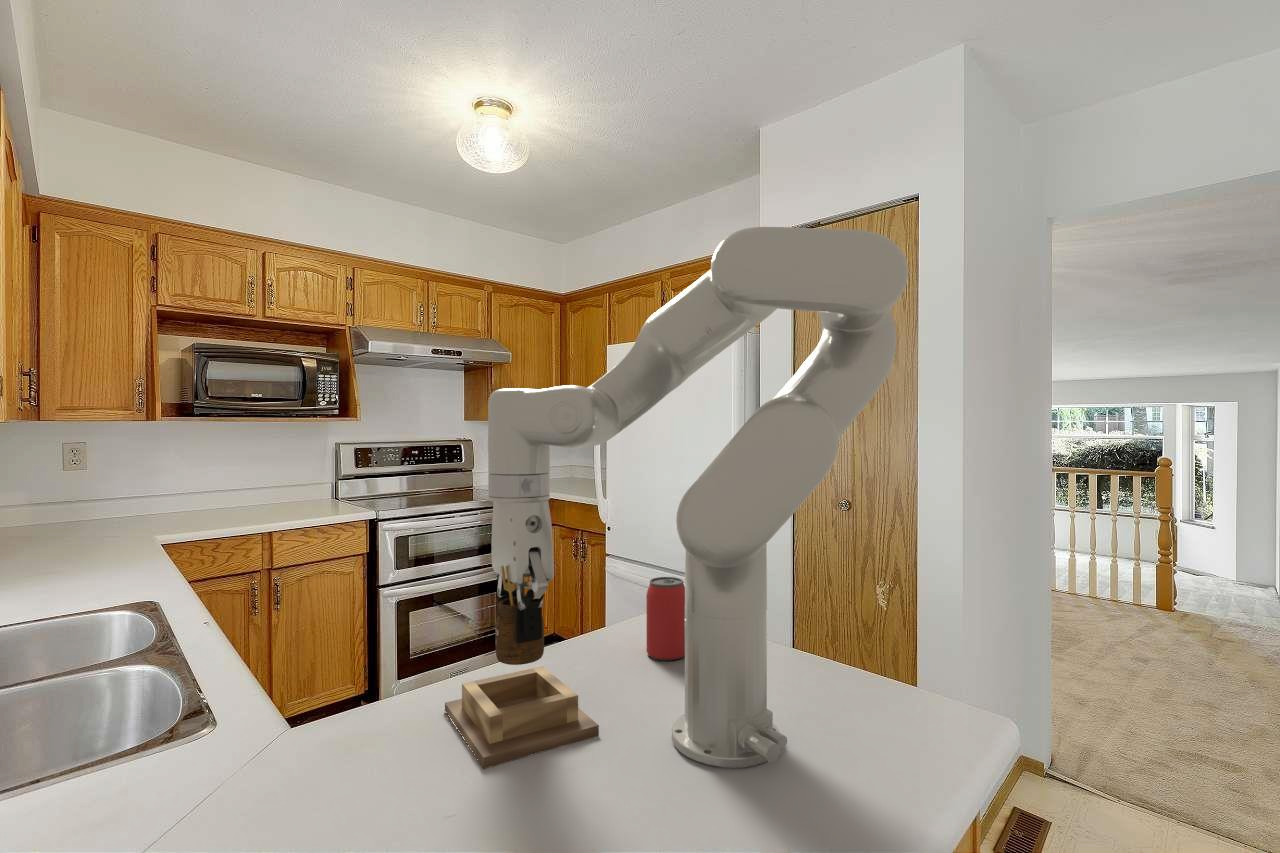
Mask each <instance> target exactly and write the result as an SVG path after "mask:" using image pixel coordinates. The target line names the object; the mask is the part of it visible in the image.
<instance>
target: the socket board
mask: <svg viewBox="0 0 1280 853" xmlns="http://www.w3.org/2000/svg"><path fill="white" fill-rule="evenodd" d="M445 711H446V712H447V714H448V715H449V716H450V718H451V719H452V721H453V722H454V724H455V725H456V727H457V728H458V730H459V731H460V733H461V734H462V736H463V737H464V739H465V741H466V742H467V744H468V745H469V747H470V748H471V750H472V751H473V753H474V754H475V756H476V757H475V756H474V757H475V758H476V760H477V759H478V760H477V762H478V763H479V762H480V763H479V765H480V766H481V768H484V769H487V768H490V766H491V767H493V766H497V765H500V763H501V764H505V763H509V762H512V761H514V760H518V759H521V758H525V756H526V757H529V756H532V754H533V755H536V754H539V753H543V752H546V751H549V749H550V750H553V749H556V748H559V747H564V746H567V745H570V744H573V743H576V742H580V741H584V740H587V739H590V738H594V737H598V736H599V735H600V733H599V732H600V730H599V729H600V725H599V724H598V723H597V722H596V721H594V719H592V718H591V717H590V716H589V715H588V714H586V713H585V712H584V711H583V710H582V709H580V708H579V694H577V693H576V692H575V691H574V690H572V688H570V687H569V686H568V685H566V683H564V682H562V680H560V679H559V678H558V677H556V676H555V675H554V674H553V673H551V672H550V671H549V670H548V669H547V668H546V667H544V666H538V667H533V668H529V669H523V670H519V671H514V672H510V673H504V674H500V675H497V676H491V677H486V678H485V677H484V678H481V679H478V680H472V681H471V680H470V681H468V682H467V681H466V682H462V683H461V698H459V699H455V700H454V699H453V700H451V701H447V702H446V701H445V702H444V712H445ZM447 714H446V715H447ZM458 730H457V731H458ZM460 733H459V734H460ZM462 736H461V737H462ZM464 739H463V740H464ZM465 741H464V742H465ZM466 742H465V743H466ZM467 744H466V745H467ZM468 745H467V746H468ZM469 747H468V748H469ZM470 748H469V749H470ZM471 750H470V751H471ZM545 750H546V751H545ZM472 751H471V752H472ZM542 751H543V752H542ZM473 753H472V754H473ZM535 753H536V754H535ZM474 754H473V755H474ZM528 755H529V756H528ZM511 760H512V761H511Z"/></svg>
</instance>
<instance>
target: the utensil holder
mask: <svg viewBox="0 0 1280 853" xmlns="http://www.w3.org/2000/svg"><path fill="white" fill-rule="evenodd" d="M501 570H502V578H503V586H504V589H505V590H506V591H508V592H509V596H510V598H507V599H504V600H501V601H500V602H499V606H498V605H497V613H498V612H499V613H500V615H499V616H498V615H497V619H496V621H495V654H496V655H495V656H496V659H497V661H498V662H500V663H502V664H505V665H509V666H510V665H511V666H520V665H527V664H532V663H535V662H537V661H539V660H540V659H542V657H543V656H544V653H545V652H544V651H545V627H544V625H545V624H544V617H543V616H542V637H541V639H539V640H535V641H529V642H524V643H517V642H516V641H515V609H519V608H518V600H517V597H513V595H512V591H514V590H515V589H516V584H514V583H511V581H509V574H508V566H506V573H507V581H508V583H507V582H506V578H505V572H504V566H501ZM529 581H532V578H529ZM523 582H525V580H524V581H523ZM530 589H531V588H528V590H530Z"/></svg>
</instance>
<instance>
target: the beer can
mask: <svg viewBox="0 0 1280 853" xmlns="http://www.w3.org/2000/svg"><path fill="white" fill-rule="evenodd" d="M645 597H646V653H647V654H648V656H649V657H651V658H652V659H654V660H658V661H665V662H666V661H676V660H677V661H678V660H680V659H682V658H685V580H683V579H682V578H679V577H676V576H675V577H674V576H659V577H654V578H651V579H649V584H648V587H647V591H646V596H645Z"/></svg>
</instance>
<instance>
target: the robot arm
mask: <svg viewBox="0 0 1280 853" xmlns="http://www.w3.org/2000/svg"><path fill="white" fill-rule="evenodd" d="M908 279H909V265H908V260H907V258H906V256H905V253H904V252H903V250H902V249H901V247H900V246H898V244H897V243H896V242H895V241H893V240H892V239H891V238H889V237H887V236H885V235H883V234H881V233H877V232H873V231H869V230H860V229H845V228H843V229H842V228H811V227H810V228H809V227H792V226H791V227H790V226H754V227H748V228H743V229H739V230H737V231H734V232H732V233H731V234H729V235H727V236H726V237H725V238H724V239H723V240H722V241H721V242H720V243H719V244H718V245H717V247H716V248H715V250H714V253H713V255H712V258H711V262H710V269H709V270H708V271H706V273H704V274H703V275H702V276H701V277H699V278H698V279H697V280H695V281H694V282H693V283H691V285H689V286H688V287H687V288H685V289H683V291H681V292H680V293H679V294H677V295H676V296H675V297H673V298H672V299H671V300H669V301H668V302H667V303H666V304H665V305H663V306H662V307H660V308H659V309H658V310H657V311H656V312H653V314H651V315H650V316H649V317H648V318H647V319H646V321H645V322H644V324H643V325H642V327H641V328H640V331H639V333H638V336H637V337H636V340H635V342H634V344H633V345H632V347H631V349H630V350H629V352H627V353H626V355H625V356H624V357H623V358H622V359H621V360H620V361H619V362H618V363H617V364H616V365H615V366H614V367H612V368H611V369H610V370H609V371H608V372H606V373H605V374H604V375H603V376H602V377H600V378H599V379H597V380H596V381H595V382H593V383H592V384H591V385H589V386H588V387H586V386H581V385H577V384H576V385H574V384H569V385H567V384H566V385H559V386H553V387H549V388H541V389H540V388H539V389H536V388H519V387H517V388H516V387H515V388H514V387H513V388H512V387H510V388H499V389H496V390H494V391H492V392H491V394H490V396H489V397H488V405H487V407H488V408H487V412H488V413H487V415H488V416H487V418H488V419H487V425H488V426H487V434H488V436H487V439H488V440H487V451H488V452H487V453H488V454H487V457H488V458H487V462H488V463H487V466H488V468H487V470H488V473H487V475H488V476H487V480H488V481H487V482H488V484H487V489H488V490H487V491H488V492H487V496H488V497H487V501H488V502H491V503H492V502H493V506H492V507H493V508H492V520H491V541H490V542H491V545H490V546H491V566H492V570H493V571H494V573H496V574H497V575H496V576H497V577H496V580H497V590H496V592H497V596H498V597H497V607H498V606H499V602H500V601H501V600H504V599H507V598H510V596H509V592H508V591H506V590H505V589H504V586H503V578H502V570H501V566H504V572H505V578H506V582H507V583H508V581H507V573H506V566H508V574H509V581H511V583H514V584H516V589H515V590H514V591H512V595H513V597H517V600H518V608H519V609H515V641H516V642H517V643H524V642H529V641H535V640H539V639H541V637H542V617H543V606H544V596H545V592H546V591H547V590H548V585H549V584H548V582H550V581H552V580H553V578H554V576H555V562H554V561H555V559H554V541H553V528H552V527H553V526H552V517H551V510H550V504H549V500H550V496H551V495H550V494H551V491H550V488H551V486H550V485H551V484H550V483H551V482H550V478H551V477H550V476H551V475H550V470H551V468H550V465H551V464H550V463H551V462H550V458H551V457H550V453H551V452H550V449H551V448H550V446H554V447H559V448H568V449H579V448H587V447H594V446H600V445H602V444H604V443H606V442H608V441H609V440H611V439H612V438H614V437H616V436H617V435H618V434H619V433H621V432H622V431H623V430H624V429H626V428H627V427H629V426H631V425H632V424H633V423H634V422H635V421H637V420H638V419H639V418H641V417H642V416H643V415H644V414H646V413H647V412H648V411H649V410H651V409H652V408H653V407H655V406H656V405H657V404H658V403H660V402H661V401H662V400H663V399H664V398H665V397H667V395H669V394H670V393H671V392H673V391H674V390H676V389H677V388H678V387H680V386H681V385H682V384H683V383H684V382H685V381H686V380H688V378H690V376H692V375H693V374H694V373H696V372H697V371H698V370H699V369H701V368H702V367H704V366H705V365H706V364H707V363H709V362H710V361H712V360H713V359H714V358H715V357H716V356H718V355H719V354H720V353H722V352H723V351H725V350H726V349H727V348H728V347H730V346H731V345H733V344H734V343H735V342H737V341H738V340H739V339H740V338H742V337H744V336H745V335H747V334H748V332H750V331H751V330H753V329H754V328H756V326H758V325H759V324H760V323H762V322H763V321H764V320H766V319H767V318H768V317H770V316H771V315H772V314H773V313H774V312H776V310H777V309H778V310H779V309H780V310H789V311H791V310H792V311H801V312H803V311H804V312H815V313H817V314H818V317H819V319H820V323H821V328H822V330H821V335H820V340H819V342H818V344H817V345H816V347H815V348H814V350H813V351H812V352H811V353H810V354H809V355H808V356H807V358H806V359H805V361H803V363H802V364H801V365H800V366H799V368H798V369H797V371H796V372H795V373H794V374H793V375H792V376H791V377H790V379H789V380H788V381H787V382H786V384H785V385H784V386H783V387H782V388H781V389H780V391H778V392H777V394H776V395H775V396H773V397H772V399H770V400H768V401H767V402H765V403H763V404H762V405H761V406H759V407H758V408H757V409H756V410H755V411H754V412H753V414H752V415H750V417H749V418H748V419H747V421H746V422H745V423H744V424H743V425H742V426H741V427H740V429H739V430H738V431H737V432H736V433H735V434H734V435H733V437H732V438H731V439H730V440H729V441H728V443H727V444H726V445H725V446H724V447H723V449H722V450H721V451H720V452H719V453H718V455H716V457H715V458H714V459H713V460H712V461H711V462H710V464H709V465H708V466H707V467H706V469H704V471H703V472H702V473H701V474H700V476H699V477H698V478H697V479H696V480H695V481H694V482H693V483H692V485H691V486H690V487H689V488H688V489H687V490H686V492H685V493H684V495H683V496H682V498H681V499H680V502H679V504H678V508H677V512H676V518H675V519H676V531H677V534H678V537H679V541H680V542H681V545H682V546H683V548H684V549H685V559H684V560H685V562H684V566H685V567H684V586H685V656H684V713H683V714H682V715H680V716H679V717H678V718H677V719H676V720H675V721H674V722H673V724H672V727H671V740H672V744H673V745H674V746H675V749H677V750H678V751H679V752H680V753H681V754H683V755H684V756H686V757H687V758H689V759H692V760H693V761H695V762H699V763H701V764H705V765H707V766H714V767H719V768H720V767H721V768H731V769H732V768H745V767H746V768H747V767H752V766H757V765H760V764H763V763H766V762H769V763H770V764H772V763H775V762H776V761H777V760H778V759H779V756H780V754H781V750H782V749H785V747H787V744H788V737H787V736H786V735H784V734H783V733H781V732H780V730H779V728H778V727H777V726H776V725H775V724H774V722H773V719H774V718H773V714H774V713H773V711H771V710H770V709H768V708H767V707H768V704H767V702H768V700H767V699H768V698H767V696H768V694H767V688H768V684H767V683H768V682H767V678H768V677H767V675H768V674H767V671H768V670H767V664H768V662H767V661H768V660H767V659H768V658H767V656H768V655H767V646H768V645H767V610H768V604H767V603H768V595H767V594H768V591H767V590H768V589H767V588H768V587H767V586H768V580H767V579H768V576H767V575H768V572H767V571H768V568H767V566H768V565H767V562H768V561H767V560H768V559H767V545H768V544H767V543H768V542H770V541H771V539H772V538H773V537H774V536H775V534H777V532H779V530H780V529H781V528H782V527H783V526H784V525H785V524H786V523H787V521H788V520H789V519H790V518H791V517H792V516H793V515H794V514H795V513H796V511H797V510H798V509H799V508H800V507H801V506H802V504H803V503H805V501H806V500H807V499H808V498H809V497H810V495H811V494H813V492H814V491H815V490H816V488H818V486H819V485H820V484H821V483H822V481H823V480H824V479H825V477H827V475H828V473H829V472H830V471H831V469H832V468H833V465H834V463H835V461H836V458H837V455H838V451H839V446H840V445H839V444H840V443H839V439H840V438H841V436H842V435H843V434H844V433H845V432H846V431H847V429H848V428H849V427H850V426H851V425H852V424H853V422H854V421H855V420H856V419H857V418H858V416H859V415H860V414H861V412H862V411H863V410H864V409H865V407H867V405H868V404H869V402H871V400H872V399H873V398H874V396H875V395H876V394H877V392H878V391H880V389H881V387H882V386H883V385H884V383H885V382H886V380H887V377H888V376H889V374H890V372H891V370H892V366H893V364H894V361H895V360H894V359H895V355H896V349H897V330H896V322H895V319H894V315H893V311H892V307H893V306H894V305H895V304H896V303H897V302H898V300H900V298H901V297H902V295H903V293H904V291H905V289H906V286H907V283H908ZM525 578H530V579H531V581H530V580H528V581H525ZM523 581H524V582H523ZM526 588H529V589H530V590H529V589H527V592H526V593H525V589H526ZM499 615H500V613H499V612H498V611H497V617H498V616H499Z"/></svg>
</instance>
